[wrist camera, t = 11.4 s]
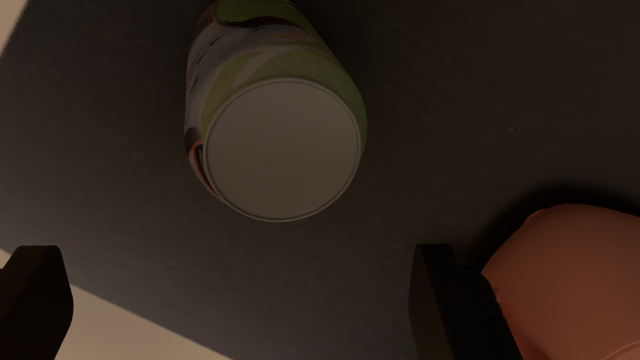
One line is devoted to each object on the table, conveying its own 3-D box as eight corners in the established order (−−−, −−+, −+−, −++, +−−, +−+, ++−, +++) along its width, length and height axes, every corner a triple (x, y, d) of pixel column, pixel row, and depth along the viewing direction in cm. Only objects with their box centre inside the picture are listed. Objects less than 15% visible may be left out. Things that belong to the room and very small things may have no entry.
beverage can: (168, 17, 27) (90, 129, 17) (312, -52, 26) (323, 23, 15) (233, 128, 30) (200, 280, 20) (364, 71, 29) (403, 203, 18)
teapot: (628, 384, 41) (741, 570, 31) (375, 312, 37) (407, 500, 26) (765, 244, 35) (965, 416, 25) (482, 137, 31) (578, 292, 20)
